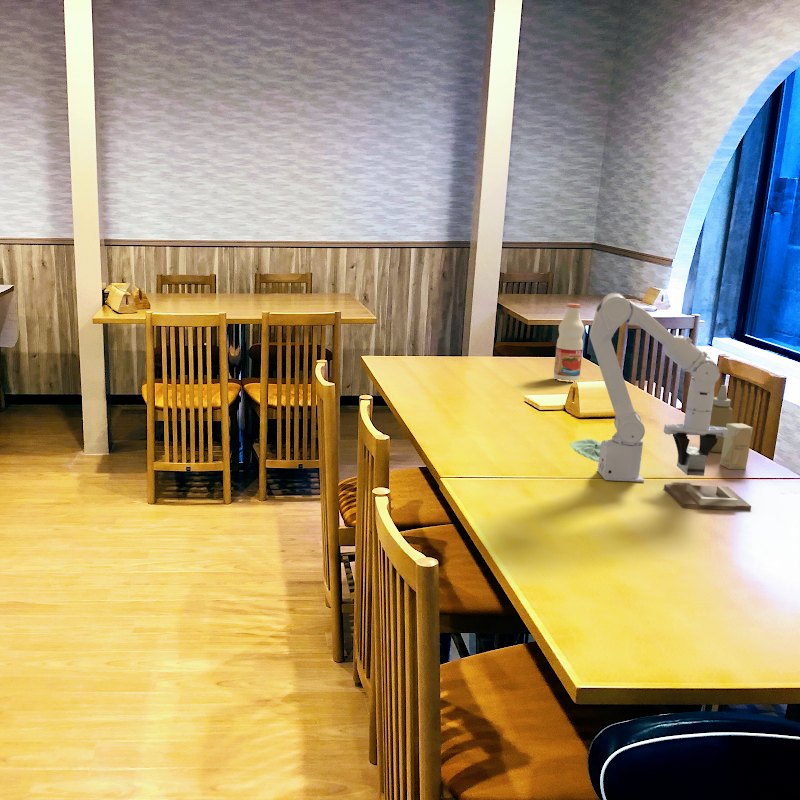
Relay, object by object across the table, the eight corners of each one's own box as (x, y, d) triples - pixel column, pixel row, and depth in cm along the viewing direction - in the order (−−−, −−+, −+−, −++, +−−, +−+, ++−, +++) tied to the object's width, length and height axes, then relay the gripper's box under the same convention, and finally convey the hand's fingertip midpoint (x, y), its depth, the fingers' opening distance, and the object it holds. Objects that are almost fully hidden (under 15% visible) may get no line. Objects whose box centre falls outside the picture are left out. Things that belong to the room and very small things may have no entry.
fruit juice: (568, 376, 327) (575, 302, 321) (584, 382, 319) (592, 305, 312) (548, 378, 323) (555, 302, 316) (564, 383, 315) (571, 305, 308)
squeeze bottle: (732, 455, 235) (742, 390, 230) (700, 452, 236) (710, 387, 232) (727, 447, 242) (736, 384, 238) (697, 444, 244) (705, 381, 240)
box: (729, 469, 222) (735, 427, 219) (719, 464, 226) (725, 423, 223) (747, 469, 223) (753, 427, 221) (736, 463, 227) (742, 422, 225)
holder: (684, 508, 191) (685, 497, 191) (664, 488, 205) (665, 477, 204) (751, 511, 192) (753, 500, 192) (727, 490, 205) (728, 480, 205)
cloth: (578, 439, 245) (579, 430, 244) (657, 454, 234) (658, 445, 234) (551, 455, 228) (552, 447, 227) (634, 473, 217) (636, 463, 217)
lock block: (686, 475, 205) (689, 454, 204) (676, 465, 212) (679, 445, 211) (704, 475, 205) (707, 455, 204) (693, 466, 212) (696, 446, 211)
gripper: (674, 411, 201) (666, 468, 204) (736, 414, 201) (727, 470, 205) (664, 404, 208) (656, 458, 211) (724, 407, 208) (715, 461, 211)
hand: (690, 464), depth 208 cm, fingers closed on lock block, 4 cm apart
